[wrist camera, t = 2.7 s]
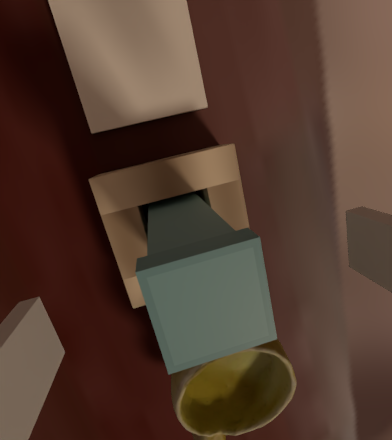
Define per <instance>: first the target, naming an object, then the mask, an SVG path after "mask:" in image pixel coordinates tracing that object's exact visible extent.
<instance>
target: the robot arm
mask: <svg viewBox="0 0 392 440" xmlns="http://www.w3.org/2000/svg"><path fill="white" fill-rule="evenodd" d="M346 221H347V222H346V223H347V240H348V253H349V254H348V255H349V267H350V268H352V269H354V270H355V271H357V272H359V273H360V274H362V275H364V276H365V277H367V278H369V279H370V280H372V281H374V282H375V283H377V284H379V285H380V286H382V287H383V288H385V289H387V290H388V291H390V292H392V215H390V214H386V213H382V212H379V211H376V210H372V209H368V208H365V207H358V208H355V209H351V210H347V211H346ZM64 353H65V351H64V349H63V347H62V345H61V342H60V340H59V338H58V336H57V334H56V332H55V330H54V327H53V325H52V323H51V321H50V319H49V317H48V315H47V312H46V310H45V308H44V306H43V304H42V302H41V300H40V297H36V298H33V299H29V300H26V301H22V302H19V303H18V304H17V305H16V307H15V308H14V309H13V310H12V311H11V312H10V314H9V315H8V316H7V317H6V318H5V319H4V321H3V322H2V323H1V324H0V440H28V439H29V437H30V434H31V432H32V429H33V427H34V425H35V422H36V420H37V418H38V415H39V413H40V410H41V408H42V406H43V403H44V401H45V399H46V396H47V394H48V391H49V389H50V387H51V384H52V382H53V380H54V377H55V375H56V372H57V370H58V368H59V365H60V363H61V361H62V358H63V356H64Z"/></svg>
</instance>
